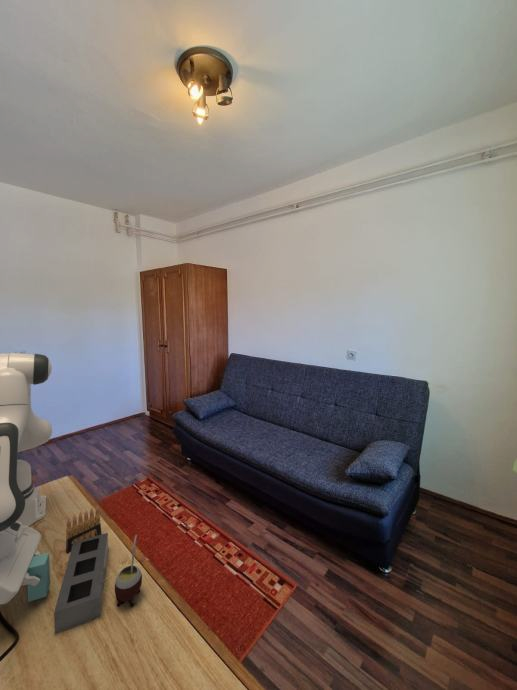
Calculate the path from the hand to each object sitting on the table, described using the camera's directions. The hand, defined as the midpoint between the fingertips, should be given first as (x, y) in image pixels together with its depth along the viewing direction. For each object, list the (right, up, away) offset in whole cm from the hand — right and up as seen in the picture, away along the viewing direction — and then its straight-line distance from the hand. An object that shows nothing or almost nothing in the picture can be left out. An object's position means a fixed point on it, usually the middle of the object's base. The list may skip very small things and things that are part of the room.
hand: (41, 572), depth 78 cm
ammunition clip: (-1, -6, +20) cm, 21 cm away
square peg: (-1, -6, 0) cm, 6 cm away
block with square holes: (+10, -8, +5) cm, 13 cm away
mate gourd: (+24, -8, +1) cm, 26 cm away
